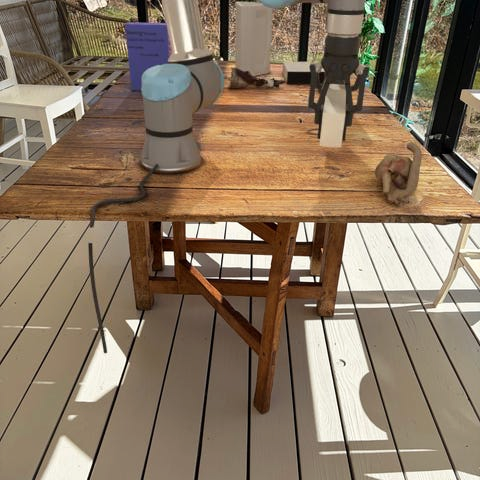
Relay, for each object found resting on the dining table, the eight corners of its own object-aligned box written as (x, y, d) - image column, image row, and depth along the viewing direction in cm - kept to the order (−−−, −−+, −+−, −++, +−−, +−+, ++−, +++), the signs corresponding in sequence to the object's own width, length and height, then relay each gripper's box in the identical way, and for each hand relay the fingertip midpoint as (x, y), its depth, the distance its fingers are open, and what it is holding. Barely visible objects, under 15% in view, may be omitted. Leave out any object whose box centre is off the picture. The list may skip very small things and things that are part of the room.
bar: (341, 147, 113) (345, 113, 109) (319, 146, 114) (322, 112, 109) (342, 113, 136) (346, 84, 132) (324, 112, 137) (327, 83, 133)
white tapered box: (273, 76, 210) (276, 6, 196) (239, 77, 209) (240, 6, 194) (266, 67, 226) (268, 2, 212) (235, 67, 225) (235, 1, 210)
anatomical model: (387, 195, 117) (397, 211, 103) (362, 171, 116) (368, 184, 102) (428, 158, 112) (444, 169, 98) (402, 132, 112) (415, 140, 97)
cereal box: (177, 88, 189) (174, 22, 177) (175, 91, 185) (172, 24, 173) (134, 87, 190) (128, 21, 178) (131, 90, 186) (124, 23, 174)
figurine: (210, 87, 179) (288, 95, 182) (212, 65, 176) (291, 73, 180) (208, 84, 201) (278, 91, 205) (210, 64, 198) (280, 71, 202)
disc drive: (287, 84, 198) (287, 71, 196) (281, 72, 218) (282, 61, 215) (329, 84, 199) (330, 72, 196) (320, 72, 218) (321, 61, 216)
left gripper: (384, 34, 106) (368, 135, 118) (303, 30, 108) (295, 130, 120) (387, 39, 99) (369, 146, 111) (300, 35, 102) (292, 140, 114)
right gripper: (370, 37, 124) (360, 103, 133) (314, 35, 127) (309, 99, 136) (371, 42, 118) (361, 110, 127) (313, 40, 120) (307, 107, 129)
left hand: (331, 137), depth 116 cm, fingers closed on bar, 5 cm apart
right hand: (334, 104), depth 131 cm, fingers closed on bar, 5 cm apart
